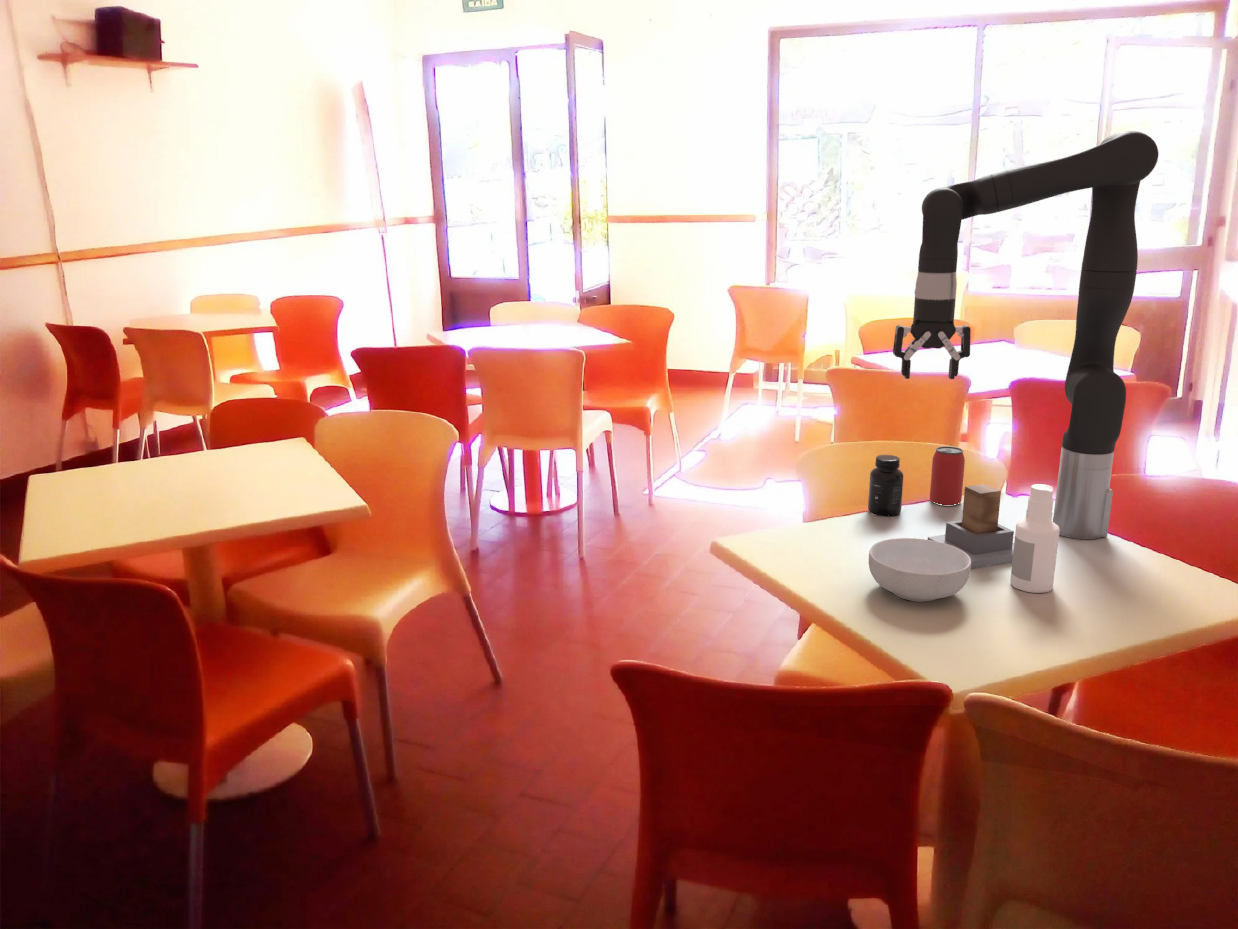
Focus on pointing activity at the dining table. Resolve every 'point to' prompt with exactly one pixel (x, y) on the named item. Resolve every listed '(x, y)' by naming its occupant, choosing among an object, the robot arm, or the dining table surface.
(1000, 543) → the socket pad
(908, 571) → the cereal bowl
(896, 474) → the supplement bottle
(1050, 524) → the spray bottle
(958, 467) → the beer can
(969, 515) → the walnut peg
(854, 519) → the dining table surface
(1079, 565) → the dining table surface
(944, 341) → the robot arm
